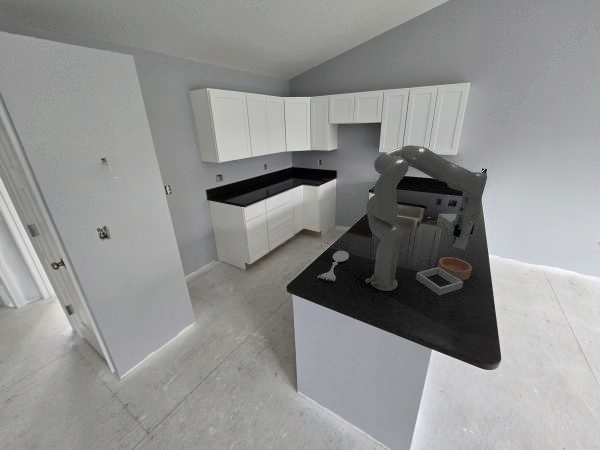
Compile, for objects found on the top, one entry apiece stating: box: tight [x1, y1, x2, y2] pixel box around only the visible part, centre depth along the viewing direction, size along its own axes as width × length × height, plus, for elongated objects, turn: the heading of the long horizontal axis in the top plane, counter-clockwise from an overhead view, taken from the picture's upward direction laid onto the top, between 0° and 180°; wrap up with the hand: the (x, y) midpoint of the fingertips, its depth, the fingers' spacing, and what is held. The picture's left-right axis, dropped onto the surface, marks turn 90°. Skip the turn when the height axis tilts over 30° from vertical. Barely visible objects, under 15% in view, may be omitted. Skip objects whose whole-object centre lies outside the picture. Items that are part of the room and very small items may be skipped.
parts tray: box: [415, 266, 464, 296], centre depth 121 cm, size 14×14×4 cm
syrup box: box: [451, 220, 473, 251], centre depth 122 cm, size 6×6×14 cm
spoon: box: [317, 250, 350, 282], centre depth 136 cm, size 9×32×4 cm, turn 155°
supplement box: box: [436, 213, 457, 235], centre depth 179 cm, size 17×13×9 cm
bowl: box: [437, 256, 473, 281], centre depth 130 cm, size 14×14×4 cm
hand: (462, 234), depth 122 cm, fingers closed on syrup box, 7 cm apart
